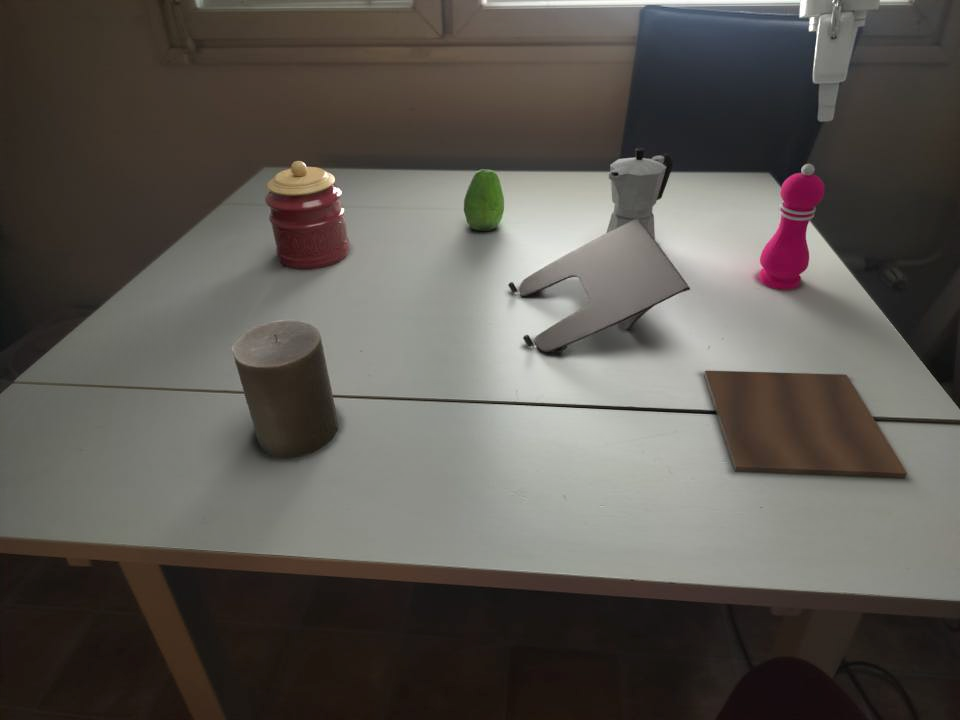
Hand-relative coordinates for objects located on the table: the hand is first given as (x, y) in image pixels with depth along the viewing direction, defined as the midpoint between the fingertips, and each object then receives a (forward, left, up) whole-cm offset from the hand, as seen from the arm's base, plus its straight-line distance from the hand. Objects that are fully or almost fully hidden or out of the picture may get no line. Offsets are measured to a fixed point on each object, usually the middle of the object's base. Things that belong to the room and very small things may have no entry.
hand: (826, 117), depth 88 cm
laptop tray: (+30, +5, -29) cm, 42 cm away
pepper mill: (-2, -7, -29) cm, 30 cm away
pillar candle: (+66, +34, -29) cm, 80 cm away
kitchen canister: (+78, -14, -29) cm, 84 cm away
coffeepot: (+20, -21, -29) cm, 41 cm away
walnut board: (+6, +29, -29) cm, 41 cm away
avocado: (+48, -27, -29) cm, 62 cm away
